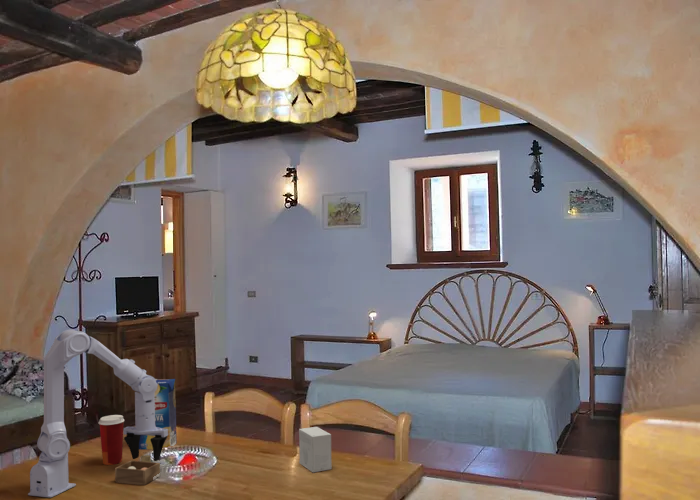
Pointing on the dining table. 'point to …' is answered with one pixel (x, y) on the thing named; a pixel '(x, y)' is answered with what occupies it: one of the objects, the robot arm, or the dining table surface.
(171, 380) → the beverage box
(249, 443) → the dining table surface
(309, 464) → the skincare box
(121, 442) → the paper cup
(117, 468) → the box
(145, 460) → the lid
